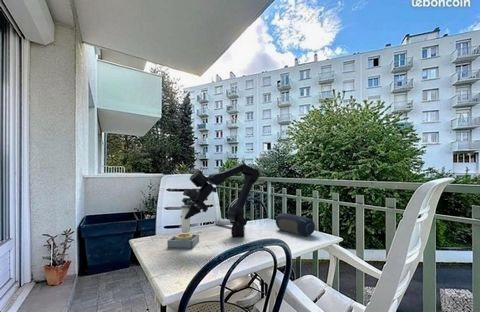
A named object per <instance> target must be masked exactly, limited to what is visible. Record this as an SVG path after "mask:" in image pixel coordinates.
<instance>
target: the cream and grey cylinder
mask: <svg viewBox="0 0 480 312" xmlns="http://www.w3.org/2000/svg"><path fill="white" fill-rule="evenodd" d="M180 208H181V215H182V218H181V234H182V233H191V217H190V218H188V219H184V218H185V216H186V214H187V213H188V211H189V210H190V205H184V204H181V206H180Z"/></svg>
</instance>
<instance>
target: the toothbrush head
mask: <svg viewBox="0 0 480 312" xmlns="http://www.w3.org/2000/svg"><path fill="white" fill-rule="evenodd" d="M214 222H215V225H218V226H232V225H233V224H231V223H230V220H229V219H225V218H221V217H220V218H216V219H215V221H214ZM245 226H246V225H244V230H245V229H246V227H245Z"/></svg>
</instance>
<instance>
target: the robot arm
mask: <svg viewBox="0 0 480 312" xmlns="http://www.w3.org/2000/svg"><path fill="white" fill-rule="evenodd" d="M240 173H241V174H242V175H244V177H243V178H244V183H243V185H242V187H241V190H240V193H239V195H238V197H237V200H236V203H235V204H234V205H233V206H230V207H229V210H228V212H227V218H228V219H229V220H230V223H231V224H233V225H231V227H230V228H231V231H230V232H231V237H233V238H244V237H245V235H246V233H245V229H244V225H245V226H247V223H248V220H247V219H246V218H244V216H245V210H244V208H245V205H246V203H247V199H248V198H249V195H250V192H251V190H252V188H253V186H254V184H255V183H257V181H258V179H259V178H260V170H259V169H257V168H253V167H251V166H250V165H249V166H248V165H247V164H245V163H239V164H237V165H235V166H233V167H230V168H228V169H227V170H223V171H221V172H220V171H219V172H215V173H211V174H209V175H208V176H205V175H204V173H203V172H202V171H201V170H197V171H196V172H194V173H193V174H191V175H190V176H189V181H191V183H192V184H193V185H194V186H195V187H196V188H199V189H198V190H197V189H195V188H192V189H189V188H185V189H184V191H183V193H182V196H186V197H183V198H182V199H181V202H182V203H183V205H190V210H189V211H188V213H187V214H186V216H185V218H184V219H188V218H190V219H191V218H192V217H194V216H196V215H198V214H200V213H206V212H207V211H208V210H209V207H208V205H207V204H206V203H205V201H208V198H209V196H210V195H211V194H212V193H218V191H217V187H216V186H220V185H221V184H222V183H224V182H225V181H226V180H227V179H228V178H231V177H233V176H235V175H238V174H240ZM180 219H182V214H180Z"/></svg>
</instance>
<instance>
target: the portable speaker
mask: <svg viewBox="0 0 480 312" xmlns="http://www.w3.org/2000/svg"><path fill="white" fill-rule="evenodd" d="M275 226H277V228H278V229H279V230H281V231H285V232H288V233H292V234H295V235H298V236H303V237H307V236H309V237H310V236H311V235H313V233H314V231H315V229H316V227H315V226H316V224H315V222H314V221H313V220H312V219H311V218H308V217H307V216H302V215H296V214H290V213H286V212H282V213H279V214H277V216H276V217H275Z"/></svg>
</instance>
